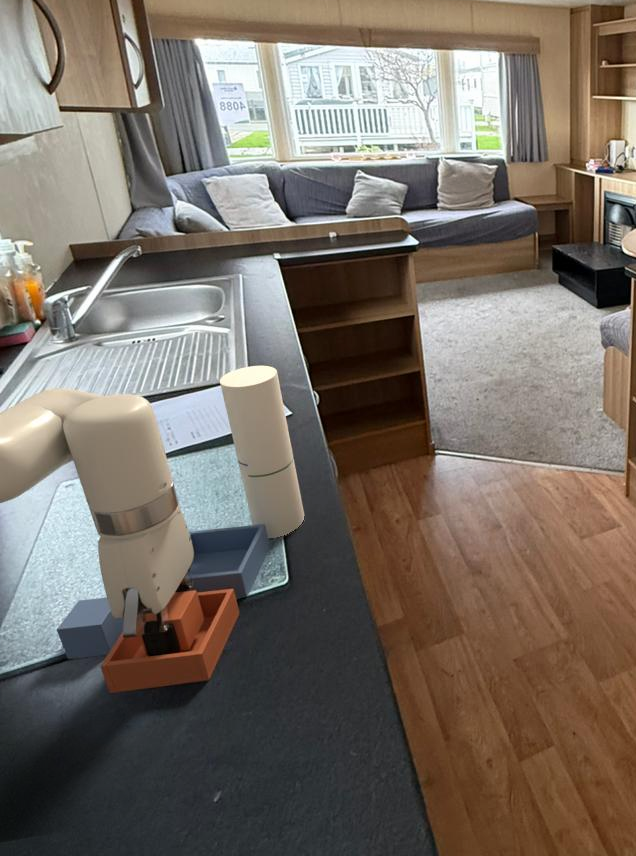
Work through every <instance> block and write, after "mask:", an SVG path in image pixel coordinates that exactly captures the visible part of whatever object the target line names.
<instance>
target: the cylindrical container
mask: <svg viewBox="0 0 636 856" xmlns="http://www.w3.org/2000/svg"><path fill="white" fill-rule="evenodd" d="M278 375H279V374H278V370H277V369H276V368H275V367H273V366H270V365H251V366H246V367H245V366H244V367H240V368H237V369H234V370H231V371H228V372H227V373H225V374H224V375H223V376H221V377H220V379H219V384H220V388H221V389H220V390H221V392H222V397H223V401H224V406H225V411H226V416H227V418H228V424H229V427H230V432H231V433H230V434H231V436H232V441H233V446H234V450H235V454H236V455H235V456H236V459H237V463H238V468H239V472H240V476H241V480H242V485H243V489H244V494H245V499H246V503H247V506H248V507H247V508H248V512H249V516H250V521H251V524H252V525H261V524H265V527H266V531H267V536H268V538H273V539H278V538H277V537H279V538H281V537H280V536H283V537H285V536H288V535H290V534H291V533H290V532H292V531H294V530H295V529H297V528H298V527H299V526H300V525H301V524H302V522H303V520H304V516H305V511H304V505H303V501H302V495H301V490H300V484H299V480H298V475H297V470H296V469H297V468H296V464H295V458H294V453H293V448H292V443H291V438H290V433H289V427H288V422H287V415H286V411H285V406H284V402H283V401H284V400H283V396H282V391H281V385H280V381H279V376H278ZM304 521H305V520H304ZM302 525H303V524H302ZM302 525H301V526H302ZM301 526H300V527H301ZM300 527H299V528H300ZM299 528H298V529H299ZM298 529H297V530H298ZM294 532H295V531H294ZM289 533H290V534H289ZM292 533H293V532H292ZM287 534H288V535H287ZM284 535H285V536H284Z"/></svg>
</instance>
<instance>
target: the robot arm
mask: <svg viewBox="0 0 636 856" xmlns="http://www.w3.org/2000/svg"><path fill="white" fill-rule="evenodd" d="M72 462H73V464H74V467H75V470H76V474H77V476H78V479H79V482H80V485H81V489H82V491H83V494H84V497H85V500H86V503H87V506H88V509H89V512H90V514H91V515H90V516H91V518H92V521H93V524H94V527H95V530H96V533H97V535H98V536H99V539H98V541H97V551H98V562H99V569H100V574H101V579H102V583H103V589H104V592H105V596H106V598H107V600H108V603H109V607H110V610H111V612H112V615H113V616H114V618H116V619H119V618H123V617H124V624H123V637H124V638H129V637H137V636H140V635H141V636H142V639H143V642H144V645H145V648H146V651H147V654H148V656H149V657H150V656H158V655H166V654H174V653H179V651H180V649H181V648H180V645H179V641H178V638H177V635H176V631H175V628H174V625H173V624H169V622H168V614H167V606H166V605H167V604H168V602H169V601H170V599H171V598H172V596H173V594H174V593H176V592H185V591H193V589H192V590H189V589H191V588H192V586H193V579H192V577H191V575H190V567H191V564H192V561H193V558H194V551H193V545H192V541H191V537H190V534H189V528H188V525H187V522H186V518H185V517H184V514H183V512H182V510H181V506H180V501H179V497H178V494H177V491H176V488H175V487H176V486H175V484H174V480H173V475H172V472H171V469H170V464H169V461H168V458H167V454H166V451H165V446H164V443H163V439H162V436H161V432H160V428H159V425H158V421H157V418H156V414H155V411H154V408H153V406H152V404H151V403H150V401H149V400H148V399H146V398H145V397H143V396H141V395H137V394H131V393H119V394H112V395H101V394H95V393H91V392H86V391H83V390H79V389H73V388H66V387H65V388H64V387H56V388H55V387H54V388H49V389H45V390H42V391H40V392H38V393H35V394H33V395H31V396H29V397H27V398H26V399H24V400H22V401H20V402H19V403H17V404H15V405H13V406H11V407H8V408H6V409H5V410H3V411H1V412H0V504H3V503H6V502H8V501H12V500H15V499H17V498H18V497H20V496H21V495H23V494H25V493H26V492H28V491H29V490H31V489H32V488H33V487H35V486H36V485H38V484H39V483H41V482H42V481H43V480H45V479H46V478H48V477H49V476H50V475H52V474H53V473H55V472H56V471H58V470H59V469H60V468H61V467H63V466H64V465H67V464H69V463H72ZM146 613H154V614H156V615H157V621H146Z"/></svg>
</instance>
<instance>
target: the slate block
mask: <svg viewBox="0 0 636 856" xmlns="http://www.w3.org/2000/svg"><path fill="white" fill-rule="evenodd" d="M123 624H124V617H123V618H119V619H116V618H114V616H113V615H112V612H111V610H110V607H109V603H108V600H107V597H99V598H90V599H81V600H78V601H77V602H76V604H75V605H74V606H73V608H72V609H71V610H70V611H69V613H68V614H67V615H66V617H65V618H64V619H63V620H62V622H61V623H60V625H59V626H58V627H57V628H56V632H57V634H58V637H59V639H60V642H61V645H62V647H63V650H64V653H65V655H66V658H67V660H77V659H82V658H83V659H84V658H92V657H100V656H107V655H108V654H109V652H110V651H111V649H112V648H113V646H114V645H115V643H116V642H117V640H118V639H119V637H120V636H121V634H122V632H123Z"/></svg>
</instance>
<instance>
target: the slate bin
mask: <svg viewBox="0 0 636 856" xmlns="http://www.w3.org/2000/svg"><path fill="white" fill-rule="evenodd" d="M188 531H189V530H188ZM189 534H190V537H191V541H192V545H193V551H194V558H193V561H192V564H191V567H190V575H191V577H192V579H193V586H192V588H191V589H189V590H192V589H193V591H194V590H196V591H197V593H199V592H208V591H217V590H226V589H234V593H235V597H236V599H240V598H241V599H242V598H247V597H248V596H249V593H250V591H251V589H252V587H253V585H254V582H255V580H256V578H257V576H258V575H259V571H260V569H261V567H262V565H263V563H264V560H265V558H266V556H267V554H268V552H269V550H270V547H271V546H270V541H269V539H268V536H267V531H266V527H265V524H261V525H242V526H232V527H222V528H221V527H219V528H211V529H201V530H190V531H189Z"/></svg>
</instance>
